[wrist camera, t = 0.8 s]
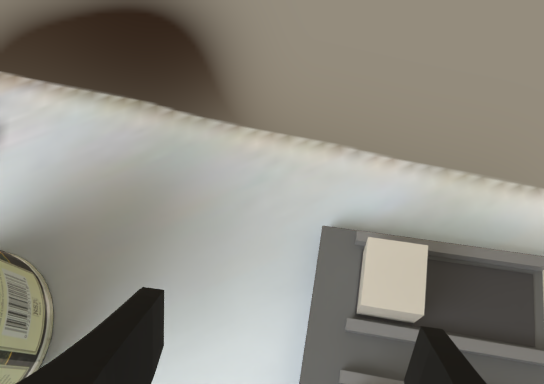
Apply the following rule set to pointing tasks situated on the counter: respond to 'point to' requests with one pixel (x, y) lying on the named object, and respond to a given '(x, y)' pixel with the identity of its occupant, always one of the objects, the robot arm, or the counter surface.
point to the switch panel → (427, 314)
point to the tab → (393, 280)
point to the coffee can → (22, 318)
